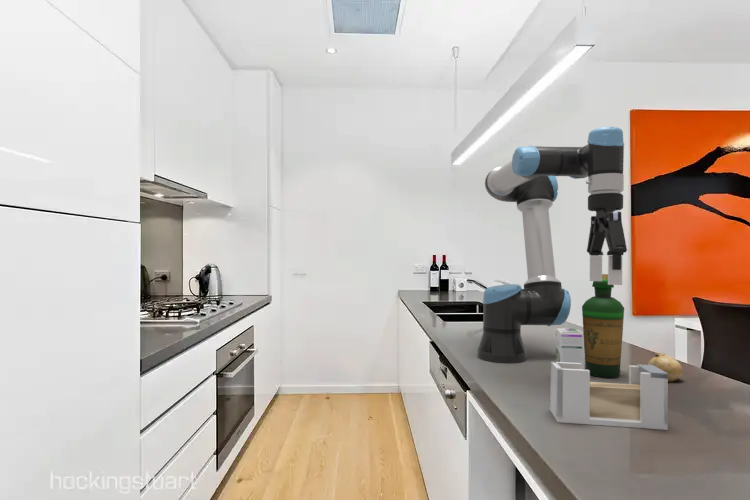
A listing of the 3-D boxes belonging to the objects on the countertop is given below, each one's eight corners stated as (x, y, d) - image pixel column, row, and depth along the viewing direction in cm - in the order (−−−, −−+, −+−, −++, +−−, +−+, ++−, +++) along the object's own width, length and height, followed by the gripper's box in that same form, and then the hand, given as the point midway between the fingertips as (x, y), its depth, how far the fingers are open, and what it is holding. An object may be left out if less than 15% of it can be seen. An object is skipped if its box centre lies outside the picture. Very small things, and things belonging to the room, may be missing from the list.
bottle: (583, 377, 122) (584, 274, 122) (579, 368, 132) (580, 273, 132) (628, 381, 119) (628, 275, 119) (620, 371, 129) (620, 273, 129)
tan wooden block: (576, 410, 93) (576, 381, 94) (649, 414, 91) (649, 385, 91) (580, 416, 90) (580, 386, 90) (656, 421, 88) (657, 390, 88)
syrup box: (585, 391, 109) (585, 332, 110) (559, 390, 111) (559, 331, 111) (579, 385, 115) (579, 328, 115) (554, 383, 116) (555, 327, 116)
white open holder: (550, 410, 96) (550, 360, 96) (652, 417, 92) (652, 364, 92) (557, 422, 89) (557, 367, 89) (667, 429, 86) (667, 373, 86)
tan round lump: (679, 377, 123) (679, 351, 123) (685, 385, 116) (685, 357, 116) (645, 374, 126) (645, 349, 126) (649, 381, 119) (649, 354, 119)
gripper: (574, 200, 120) (574, 279, 120) (606, 186, 95) (605, 286, 95) (604, 199, 119) (604, 280, 119) (644, 185, 94) (643, 286, 94)
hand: (604, 283), depth 107 cm, fingers open, 13 cm apart
